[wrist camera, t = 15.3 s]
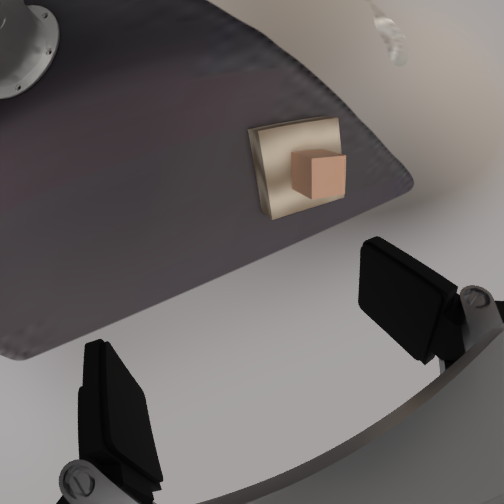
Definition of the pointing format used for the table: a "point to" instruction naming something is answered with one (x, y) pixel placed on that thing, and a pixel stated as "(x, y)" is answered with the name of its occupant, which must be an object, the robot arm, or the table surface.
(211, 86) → the table surface
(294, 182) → the terracotta cube
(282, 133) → the birch block
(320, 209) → the table surface
